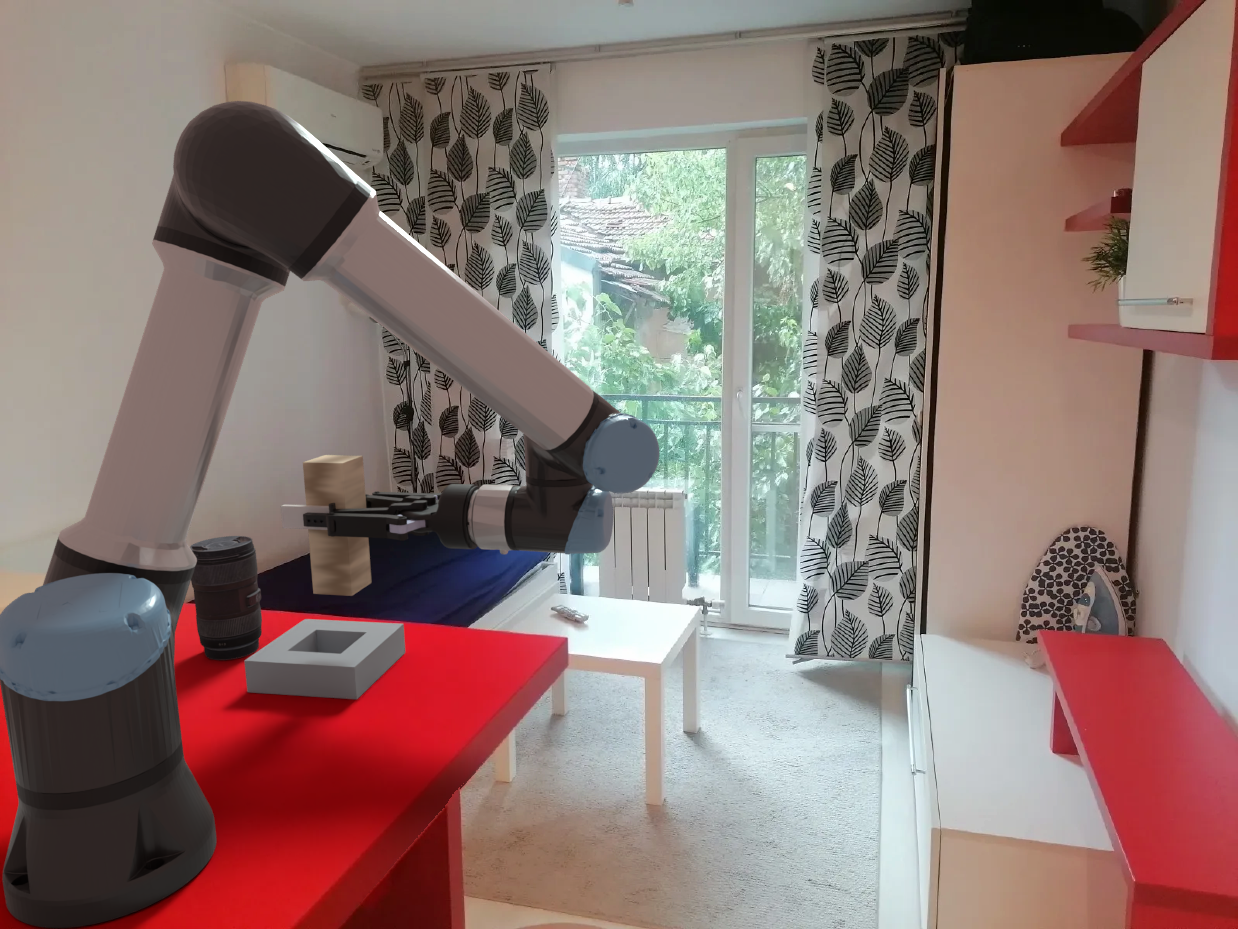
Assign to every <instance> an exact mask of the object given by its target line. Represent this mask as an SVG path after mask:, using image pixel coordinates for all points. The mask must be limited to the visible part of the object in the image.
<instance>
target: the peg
mask: <svg viewBox="0 0 1238 929" xmlns="http://www.w3.org/2000/svg"><path fill="white" fill-rule="evenodd" d="M302 469H303V472H302V473H303V482H304V493H305V494H304V495H305V496H304V498H305V505H313V506H329V504H330V503H335V505H336V509H355V508H366V495H365V494H366V482H365V467H364V456H363V455H345V454H344V455H342V454H340V455H339V454H335V455H334V454H324V455H320V456H317V457H314V458H312V459H308V460H306V461H303V462H302ZM307 531H308V532H307V534H308V542H309V544H308V545H309V556H310V558H309V559H310V569H311V570H310V571H311V581H312V583H311V584H312V591H313V595H331V596H347V597H348V596H350V597H353V596H354V595H355V594H357V593H358V592H360V591H362V590H363V589H364V588H366V587H367V586H369V585H371V584H372V570H371V569H372V567H371V559H370V558H371V556H370V542H369V540H370V539H369V538H367V537H339V536H334V537H331V536H328V531H327V530H315V529H307Z"/></svg>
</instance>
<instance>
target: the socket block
mask: <svg viewBox="0 0 1238 929" xmlns="http://www.w3.org/2000/svg"><path fill="white" fill-rule="evenodd" d="M405 654H406V642H405V624H404V623H397V622H395V623H393V622H375V621H357V620H356V621H355V620H336V619H335V620H334V619H333V620H331V619H318V618H317V619H314V618H313V619H312V618H305V619H303V620H301V621H300V622H299V623H296V625H294V626H293V627H291V628H290V629H288V630H287V631H285V632H283V634H281V635H279V636H278V637H277V638H275V639H274V640H272V641H271V642H270V643H268V644H267V645H265V646H264V647H262V648H261V649H258V650H257V651H255V652H254V654H253V653H252V654H251V655H250V656H249V657H247V658H246V659H245V660H243V661H244V670H245V671H244V672H245V682H246V692H247V693H256V694H270V695H287V696H301V697H313V698H314V697H316V698H327V699H329V698H332V699H333V698H334V699H345V700H346V699H347V700H358V699H359V698H361V696H362V695H363V694H364V693H366V691H367V690H369V688H370V687H372V685H373V684H375V683H376V681H377V680H379V679H380V678H381V677H382V676H383V675H384V674H385V673H386V672H387V671H388V670H389V669H390V668H391V667H392V666H393V665H394V664H395V663H396V662H397V661H398V660H399V659H400V658H401V657H402V656H403V655H405Z"/></svg>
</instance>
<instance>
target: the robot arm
mask: <svg viewBox="0 0 1238 929" xmlns="http://www.w3.org/2000/svg"><path fill="white" fill-rule="evenodd" d="M172 165H173V166H172V168H173V169H172V170H173V176H172V178H171V181H170V184H169V187H168V190H167V191H168V192H167V194H166V197H165V201H164V203H163V206H162V207H163V208H162V210H161V213H160V216H159V220H158V222H157V226H156V228H155V232H154V236H153V239H152V241H151V244H152V247H153V248H154V250H155V252H156V253H157V255H158V256H159V258H160V260H161V263H162V265H163V272H162V274H161V278H160V280H159V284H158V286H157V289H156V294H155V297H154V299H153V303H152V305H151V308H150V312H149V315H148V318H147V321H146V324H145V328H144V330H143V334H142V337H141V339H140V343H139V345H138V349H137V353H136V355H135V358H134V362H133V365H132V368H131V371H130V374H129V377H128V381H127V383H126V387H125V390H124V393H123V396H122V400H121V402H120V405H119V409H118V412H117V415H116V418H115V421H114V425H113V427H112V430H111V434H110V437H109V440H108V443H107V447H106V450H105V453H104V455H103V459H102V463H101V466H100V468H99V472H98V474H97V477H96V481H95V483H94V484H95V485H94V488H93V490H92V494H91V496H90V500H89V502H88V503H89V504H88V506H87V510H86V512H85V516H84V517H83V518H82V519H81V520H79V521H77V522H74V523H73V524H71V525H69V526H66V527H64V528H62V530H60V531H59V534H58V537H57V540H56V542H55V547H54V549H53V552H52V556H51V559H50V562H49V565H48V568H47V571H46V573H45V577H44V580H43V582H42V585H41V586H38V587H36V588H35V590H34V591H33V592H26V593H22V595H20V596H18V597H17V598H15V599H14V600H13V601H11V602H10V603H9V604H8V605H7V606H6V607H4V608H3V610H2V611H1V613H0V690H1V691H0V692H1V697H2V703H3V710H4V717H5V722H6V728H7V729H6V730H7V736H8V742H9V749H10V755H11V759H12V766H13V773H14V779H15V786H16V793H17V799H18V806H17V808H16V810H17V811H16V814H15V818H14V823H13V827H12V832H11V834H10V839H9V843H8V847H7V852H6V856H5V861H4V864H3V868H2V886H3V891H4V892H3V893H4V898H5V906H6V908H7V910H8V912H9V913H10V914H11V916H13V917H14V918H15V919H16V920H18V921H20V922H22V923H24V924H27V925H31V926H34V927H39V928H40V927H41V928H45V929H47V928H48V929H49V928H50V929H65V928H66V929H67V928H69V929H70V928H76V927H77V928H78V927H86V926H90V925H96V924H100V923H104V922H108V921H111V920H115V919H118V918H122V917H124V916H127V915H131V914H132V913H136V912H137V911H141V910H143V909H145V908H147V907H149V906H151V905H153V904H155V903H157V902H159V901H161V900H163V899H165V898H166V897H169V896H170V895H171V894H173V893H175V892H176V891H178V890H180V889H182V887H184V886H185V885H186V884H188V883H189V882H190V881H191V880H192V879H194V878H195V877H196V876H197V875H198V874H199V873H200V872H201V871H202V870H203V869H204V868H205V866H206V865H207V864H208V863H209V861H210V859H211V858H212V857H213V855H214V852H215V850H216V847H217V831H216V824H215V822H216V821H215V817H214V816H215V814H214V813H213V809H212V807H211V805H210V803H209V802H208V799H207V798H206V797H205V794H204V793H203V791H202V789H201V787H200V784H199V783H198V781H197V779H196V778H195V776H194V774H193V772H192V770H191V768H190V767H189V765H188V764H187V762H186V759H185V755H184V746H183V738H182V730H181V728H182V727H181V721H180V711H179V703H178V694H177V685H176V673H175V672H176V670H175V653H176V652H175V650H176V648H175V647H176V646H175V645H176V631H177V625H178V623H179V619H180V615H181V612H182V610H183V608H184V607H183V606H184V603H185V599H186V598H187V595H188V594H187V593H188V591H189V587H190V585H191V578H192V575H193V572H194V569H195V566H196V563H197V558H196V556H195V555H194V553H193V552H192V550H191V549H190V545H189V544H188V541H187V538H188V534H189V531H190V528H191V524H192V521H193V518H194V515H195V512H196V509H197V506H198V503H199V500H200V496H201V493H202V491H203V486H204V485H205V482H206V479H207V478H206V477H207V475H208V472H209V469H210V467H211V466H210V465H211V462H212V459H213V457H214V453H215V449H216V446H217V444H218V441H219V437H220V434H221V432H222V429H223V425H224V423H225V419H226V415H227V413H228V410H229V406H230V403H231V399H232V397H233V393H234V392H235V387H236V384H237V382H238V379H239V375H240V372H241V368H242V366H243V362H244V360H245V356H246V355H247V354H246V353H247V351H248V348H249V344H250V340H251V338H252V335H253V332H254V330H255V329H254V328H255V326H256V322H257V319H258V316H259V312H260V310H261V307H262V303H263V302H264V301H265V300H266V299H268V298H270V297H272V296H275V295H277V294H279V293H281V292H283V291H285V288H286V287H287V286H286V285H287V283H288V282H287V281H289V280H288V279H289V276H290V273H292V274H294V275H295V276H296V277H298V278H299V279H300V280H301V281H303V282H310V281H313V282H314V281H321V282H324V284H326V285H328V286H329V287H330V288H332V289H333V290H334V291H336V292H337V293H338V294H340V295H341V296H342V297H344V298H345V299H346V300H348V301H349V302H350V303H351V304H353V305H354V306H355V307H356V308H358V309H359V310H361V312H363V313H365V314H366V315H367V316H368V317H370V318H371V319H372V320H374V321H375V322H376V323H377V324H379V325H380V326H381V327H383V328H385V329H386V330H387V331H388V332H389V333H391V334H392V335H393V336H395V337H396V338H398V340H400V341H401V342H403V343H405V345H407V346H408V347H409V348H411V349H412V350H414V352H416V353H417V354H418V355H419V356H421V357H423V358H424V359H425V360H426V361H428V362H429V363H430V364H431V365H433V366H434V367H436V368H437V369H438V370H440V372H442V373H444V374H445V375H446V376H447V377H449V378H450V379H451V380H453V381H454V382H455V383H456V384H457V385H459V386H460V387H461V388H463V389H465V391H467V392H469V393H470V394H471V395H472V396H473V397H474V398H476V399H477V400H479V401H480V402H481V403H483V404H484V405H485V406H487V407H488V408H489V409H490V410H492V411H493V412H495V413H496V414H497V415H498V416H500V417H501V418H502V419H503V420H504V421H507V423H508V424H510V425H511V426H512V427H514V428H515V429H517V430H518V431H519V432H521V433H522V434H523V446H524V447H523V448H524V464H525V465H524V466H525V467H524V468H525V485H517V484H516V485H515V484H514V485H513V484H482V485H481V486H479V485H478V484H470V483H469V484H461V483H451V484H448V485H447V486H445V488H443V490H442V492H438V493H437V492H434V493H433V492H432V493H425V492H423V493H422V492H398V491H397V492H396V491H395V492H392V491H379V490H375V491H374V492H372V493H371V494H367V493H365V495H366V508H355V509H336V505H335V503H330V504H329V506H313V505H306V504H283V505H280V514H281V526H282V529H290V530H292V529H294V530H298V529H299V530H308V529H315V530H327V531H328V536H331V537H334V536H339V537H367V538H368V539H369V538H374V539H391V540H397V541H402V542H403V541H406V540H408V539H409V534H411V535H413V536H418V537H419V536H420V537H421V536H422V537H423V536H427V535H429V534H430V533H432V532H434V533H436V534H437V536H438V538H439V540H440V541H439V542H441V544H442V545H443V546H444V547H446V548H447V549H454V550H455V549H456V550H457V549H458V550H459V549H461V550H475V549H477V548H479V549H481V550H489V551H490V550H492V551H493V550H499V553H500V554H501V555H508V553H509V551H514V552H515V551H518V552H519V551H521V552H537V553H539V552H540V553H552V554H553V553H554V554H564V555H572V554H573V555H574V554H576V555H579V554H581V555H582V554H584V555H585V554H598V553H601V552H603V551H604V550H606V548H607V547H608V546H609V544H610V542H611V539H612V533H613V529H614V506H613V498H612V495H611V493H613V494H617V495H619V494H621V495H623V494H629V493H633V492H635V491H638V490H640V489H641V488H643V487H644V486H646V484H647V483H648V482H650V480H651V478H652V477H653V475H654V474H655V472H656V470H657V467H658V464H659V460H660V446H659V442H658V438H657V436H656V433H655V432H654V430H653V429H652V428H651V427H650V426H649V424H647V423H646V422H644V421H642V420H640V419H638V417H636V416H634V415H632V414H629V413H624V412H621V411H619V410H618V409H617V408H615V407H614V406H613V405H612V404H611V403H610V402H608V401H607V400H606V399H605V398H604V397H603V396H602V395H600V394H599V393H597V392H595V390H593V389H592V388H591V387H590V386H589V385H588V384H587V383H585V382H584V381H583V380H582V379H581V378H580V377H578V376H577V375H576V374H575V373H574V372H572V371H571V370H570V369H569V368H568V367H567V366H566V365H564V364H563V363H562V362H561V361H560V360H558V359H557V358H556V357H555V356H553V355H552V354H551V353H550V352H549V351H547V349H546V348H544V347H542V345H541V344H539V343H538V342H537V341H536V340H534V339H533V338H532V337H531V336H529V334H527V333H526V332H525V331H524V330H522V329H521V328H520V327H519V326H518V325H517V324H516V323H514V322H513V321H512V320H510V319H509V318H508V317H507V316H506V315H505V314H503V313H502V312H501V311H500V310H499V309H498V308H496V307H495V306H494V305H493V304H492V303H490V302H489V300H487V299H486V298H485V297H483V296H482V295H481V294H480V293H479V292H478V291H476V290H475V289H473V288H472V287H471V286H470V285H469V284H468V283H467V282H465V281H464V280H463V279H462V278H461V277H459V275H457V274H456V273H454V272H453V271H452V270H451V269H450V268H449V267H448V266H446V265H445V264H444V263H443V262H442V261H440V260H439V259H438V258H437V257H435V255H433V254H432V253H431V252H430V251H428V250H427V249H426V248H425V247H424V246H422V245H421V244H420V243H419V242H418V241H417V240H416V239H415V238H413V237H412V236H411V235H409V233H408V232H406V231H405V230H403V229H402V228H401V227H400V226H399V225H398V224H396V222H394V221H393V220H392V219H391V218H389V216H387V215H386V214H385V213H383V212H382V211H381V210H380V207H379V201H378V197H377V191H376V190H375V189H374V188H373V187H371V185H369V184H368V183H367V182H366V181H365V180H364V179H362V178H361V177H360V176H358V175H357V174H356V173H355V172H354V171H353V170H352V169H351V168H349V167H348V165H346V164H345V163H344V162H343V161H342V160H341V159H340V158H338V157H337V156H336V155H335V154H334V153H333V152H332V151H331V150H330V149H329V148H327V147H326V146H325V145H324V144H323V143H322V142H321V141H320V140H318V139H317V138H316V137H315V136H314V135H313V134H312V133H311V132H309V131H308V130H307V129H306V128H305V127H303V125H302V124H300V123H299V122H297V121H295V119H293V118H292V117H291V116H289V115H288V114H286V113H284V112H282V111H280V110H278V109H276V108H274V107H271V106H268V105H265V104H262V103H258V102H255V101H245V100H243V101H242V100H234V101H233V100H232V101H225V102H221V103H217V104H214V105H212V106H210V107H209V108H207V109H204V110H202V111H201V112H200V113H198V114H197V115H196V116H195V117H193V118H192V119H191V120H190V121H189V122H188V124H187V125H186V126H185V127H184V129H183V130H182V132H181V133H180V136H179V138H178V140H177V143H176V146H175V149H174V154H173V164H172Z"/></svg>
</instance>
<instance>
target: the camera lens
mask: <svg viewBox="0 0 1238 929" xmlns="http://www.w3.org/2000/svg"><path fill="white" fill-rule="evenodd" d="M189 547H190V549H191V550H192V552H193V553H194V555H195V556H196V558H197V563H196V566H195V569H194V572H193V575H192V578H191V581H190V584H191V586H192V588H193V596H194V605H195V606H194V607H195V619H196V629H197V633H198V637H199V642H200V645H201V646H202V647H203V652H204V656H205V657H206V658H208V659H210V660H216V661H229V660H235V659H236V660H237V659H240V658H244V657H247V656H249V655H250V656H251V655H253V653H256V652H257V651H258V650H259V647H260V640H259V639H260V638H261V637H262V634H263V633H262V624H263V618H262V609H261V605H260V601H261V600H262V591H261V587H260V588H259V586H258V578H259V576H258V559H257V552H256V548H255V545H254V541H253V538H251V537H250V536H245V535H229V536H221V537H220V536H219V537H213V538H209V539H204V540H201V541H198V542H194V543H193V544H191V545H189Z"/></svg>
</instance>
